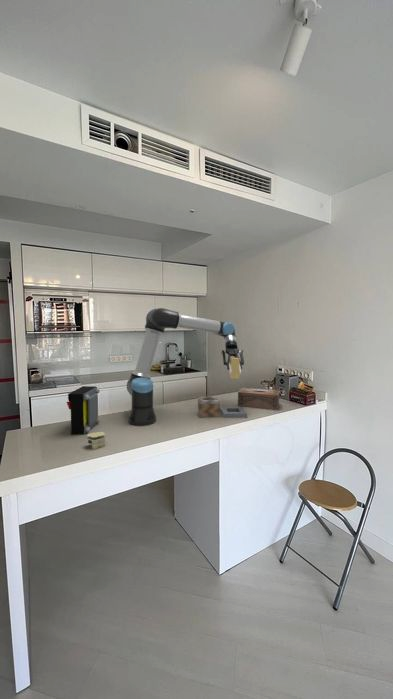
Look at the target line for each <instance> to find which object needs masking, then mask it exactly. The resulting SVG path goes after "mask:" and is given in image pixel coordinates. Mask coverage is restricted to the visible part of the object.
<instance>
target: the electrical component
mask: <svg viewBox="0 0 393 699" xmlns="http://www.w3.org/2000/svg"><path fill="white" fill-rule="evenodd" d="M100 391H101V390H100V388H98V386H95V385H94V386H91V385H90V386H81V387H79V388H77V389H75V390H73V391H71V392H70V393H68V394H67V400H68V401H66V405H67V407H68V410H70V431H71V432H70V435H75V436H76V435H78V436H79V435H80V436H81V435H83V436H84V435H86V434H88V433H90V432H91V430H92V428H94V427H95V426H96V424H98V423H99V424H100V422H101V418H100V417H99V410H98V407H99V406H98V405H99V404H98V403H99V402H98V394H99V393H100ZM98 417H99V418H98Z"/></svg>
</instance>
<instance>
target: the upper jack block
mask: <svg viewBox="0 0 393 699" xmlns="http://www.w3.org/2000/svg"><path fill="white" fill-rule="evenodd" d="M220 407H221V403H220V401H219V400H218V398H217V396H199V398H198V399H197V413H198V414H197V415H198V418H203V419H204V418H221V414H220V413H221V412H220Z"/></svg>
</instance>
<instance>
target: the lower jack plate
mask: <svg viewBox="0 0 393 699" xmlns="http://www.w3.org/2000/svg"><path fill="white" fill-rule="evenodd" d="M220 413H221V414H220V415H221V416H222V418H224V419H231V418H232V419H235V418H236V419H239V418H240V419H244V418H246V419H247V418H248V412H247V411H246V410H245V409H244V407H239V406H220Z"/></svg>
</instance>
